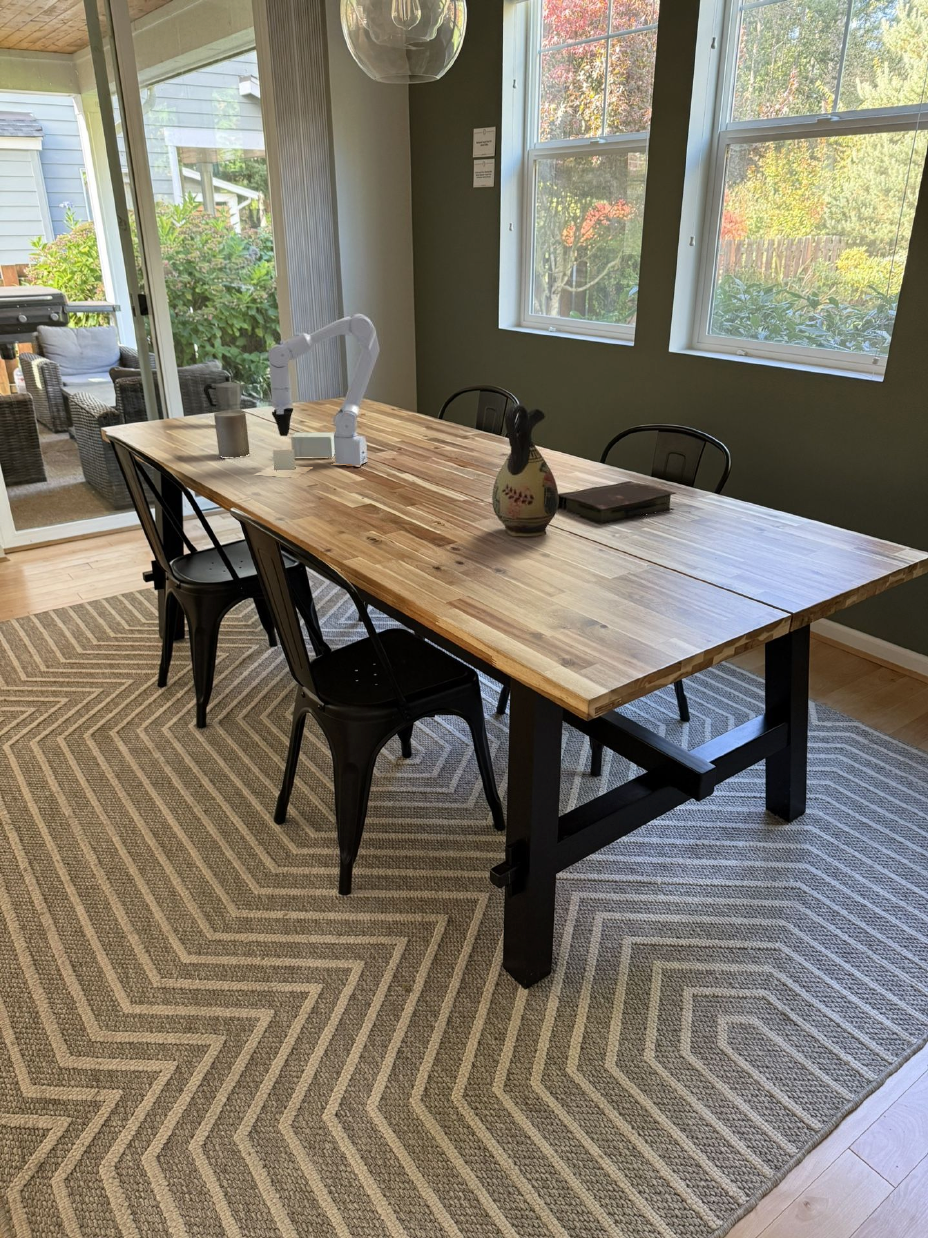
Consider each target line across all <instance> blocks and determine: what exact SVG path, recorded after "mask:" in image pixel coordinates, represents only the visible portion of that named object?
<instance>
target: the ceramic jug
mask: <svg viewBox="0 0 928 1238" xmlns="http://www.w3.org/2000/svg"><path fill="white" fill-rule="evenodd" d="M516 416H518V420H517V422H515V420H516ZM545 417H546V416H545V413H544V411H542V410H541V409H539V408H536V407H535V408H534V409H531V410H530V411H529V410H528V408H527V407H525V406H524V405H522V404H520V403H513V404H512V405H509V406H508V407H507V408H506V410H505V416H504V418H505V419H504V424H505V430H506V434H507V438H508V442H509V446H510V453H509V454H508V455H507V458H506V459H505V460H504V463H503V464H502V466H501V467H500V469H499V471H498V473H497V475H496V478H495V480H494V485H493V488H492V493H491V494H492V495H491V496H492V498H491V501H492V502H491V503H492V508H493V511H494V515H495V516H496V517H497V518H498V520H499V521H500V522H501V523H502V525H504V527H505V530H506V533H507V534H508V535H510V537H539V536H542V535H546V534H547V530H546V529H547V528H548V526H549V524H550V523H551V521H552V520H553V519H554V518H555V516H556V514H557V510H558V509H557V508H558V503H559V496H558V494H559V490H558V486H557V481H556V479H555V477H554V474H553V472H552V469H551V468H550V467H549V465H548V464H547V462H546V460H545V458H544V457H543V455H542V454H541V452H540V451H539V450H538V448H537V447H536V444H535V443H534V441H533V439H532V438H533V437H532V431H533V429H534V428H535V427H536V426H537V425H538V424H540V423H541V422H542V421H543V420H544V419H545ZM515 423H516V424H515Z"/></svg>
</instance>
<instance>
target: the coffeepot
mask: <svg viewBox="0 0 928 1238" xmlns="http://www.w3.org/2000/svg"><path fill="white" fill-rule="evenodd" d="M224 379H225V381H224V382H221V383H207V384H205V386H204V387H203V390H202V391H203V393H204V396H205V398H206V399H207V401H208V404H209V405H210V407H213V408H216V407H217V403H213V398H212V397H211V394H210V391H209V390H215V391H216V397H217V400H218V403H219V404H220V410H219V412H221V411H229V410H230V411H231V410H239V411H242V409H241V406H240V404H241V402H242V400H241V398H242V395H243V393H244V391H245V389H246V388H247V387H248V385H246V384H244V383H238V382H234V381H233V382H232V381H230V379H231V378H230V376H225V377H224Z"/></svg>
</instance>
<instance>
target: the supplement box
mask: <svg viewBox="0 0 928 1238" xmlns="http://www.w3.org/2000/svg"><path fill="white" fill-rule="evenodd" d="M334 433H335V432H295V433H294V434H293V435H291V436H290V438H291V439H290V441H291V442H290V443H291V450H294V453H295V457H328V458H331V457H333V456H334V454H335V450H334ZM334 457H335V456H334ZM334 457H333V458H334Z"/></svg>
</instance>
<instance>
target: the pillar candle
mask: <svg viewBox="0 0 928 1238" xmlns="http://www.w3.org/2000/svg"><path fill="white" fill-rule="evenodd" d="M246 415H247V414H246V412H245V411H243V410H241V411H239V410H231V411H230V410H229V411H221V412H220V411H217V412H214V413H213V417H214V423H215V424H214V426H215V434H216V441H217V443H216V444H217V448H218V449H217V450H218V457H219V456H222V457H240V456H246V455H248V454H251V453H250V444H249V436H248V425H247V417H246Z"/></svg>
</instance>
